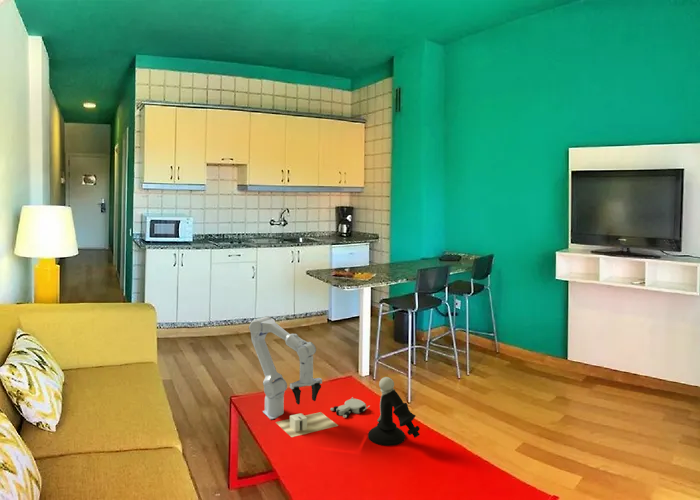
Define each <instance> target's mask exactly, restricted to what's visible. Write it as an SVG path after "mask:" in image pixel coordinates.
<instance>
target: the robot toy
mask: <svg viewBox="0 0 700 500" xmlns="http://www.w3.org/2000/svg"><path fill="white" fill-rule="evenodd" d="M370 406H371V405H368V406H367V403H365V402H364V401H363V400H361V399H358V398H354V397H353V396H352V397H351V398H350V399H347V400H345V401H344V404H342V405H339V406H338V405H335V406H333V407H330V409H329V410H330V411H331V412H333V411H334V412H335V414H336V416H342V418H344V419H345V418H348V417H349V416H350V414H351V413H352V414H361V413H363V412H365V411H366V410H367V409H368V408H369V407H370Z"/></svg>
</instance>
